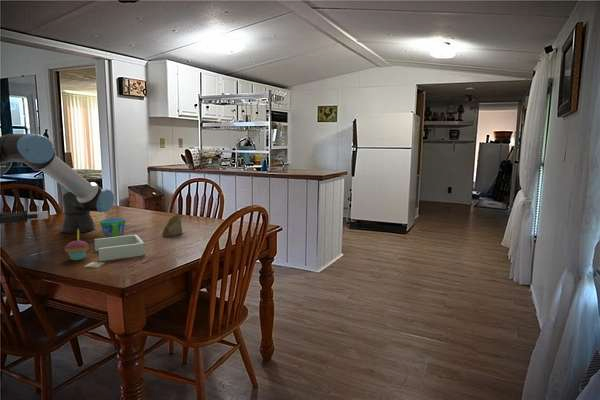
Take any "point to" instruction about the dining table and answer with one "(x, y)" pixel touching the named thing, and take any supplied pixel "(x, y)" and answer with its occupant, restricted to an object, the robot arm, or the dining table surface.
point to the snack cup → (113, 227)
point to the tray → (119, 247)
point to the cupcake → (77, 248)
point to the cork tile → (94, 265)
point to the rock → (173, 226)
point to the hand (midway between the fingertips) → (48, 214)
